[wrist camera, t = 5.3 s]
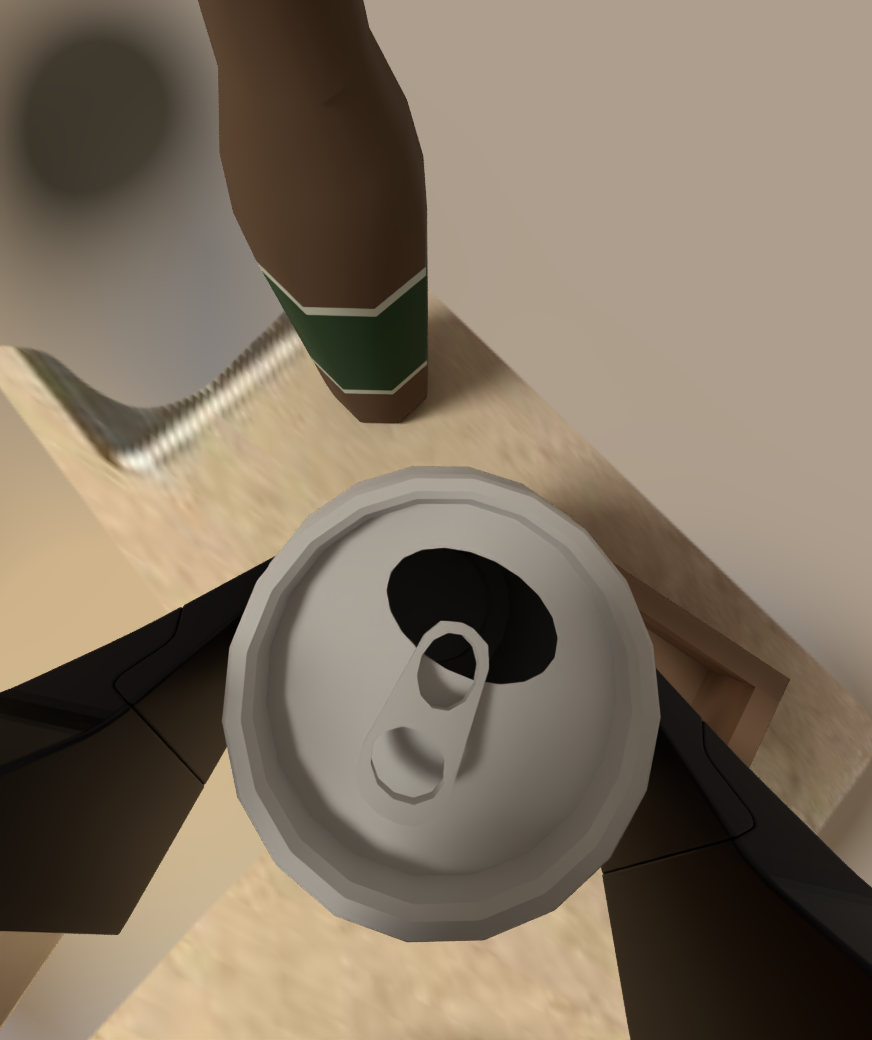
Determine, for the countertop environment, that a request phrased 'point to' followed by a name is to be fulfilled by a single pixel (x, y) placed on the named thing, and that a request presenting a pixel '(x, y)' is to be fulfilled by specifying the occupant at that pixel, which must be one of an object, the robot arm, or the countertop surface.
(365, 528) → the can
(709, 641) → the brown wooden square tray
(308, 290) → the beer bottle
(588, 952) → the countertop surface
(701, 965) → the robot arm
